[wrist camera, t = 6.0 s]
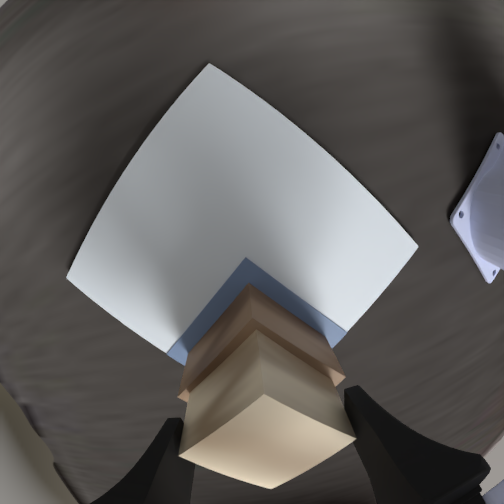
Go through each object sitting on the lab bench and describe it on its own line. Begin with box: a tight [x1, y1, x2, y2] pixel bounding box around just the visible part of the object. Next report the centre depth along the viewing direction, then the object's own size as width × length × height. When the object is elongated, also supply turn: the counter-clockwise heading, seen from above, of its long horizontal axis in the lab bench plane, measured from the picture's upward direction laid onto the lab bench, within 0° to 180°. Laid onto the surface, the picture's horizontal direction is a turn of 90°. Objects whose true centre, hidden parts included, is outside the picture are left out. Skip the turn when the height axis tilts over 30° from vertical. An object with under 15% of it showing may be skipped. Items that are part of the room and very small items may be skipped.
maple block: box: [178, 329, 357, 489], centre depth 11 cm, size 5×5×4 cm
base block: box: [178, 283, 346, 402], centre depth 15 cm, size 6×6×4 cm
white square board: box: [66, 63, 418, 366], centre depth 16 cm, size 15×16×1 cm
